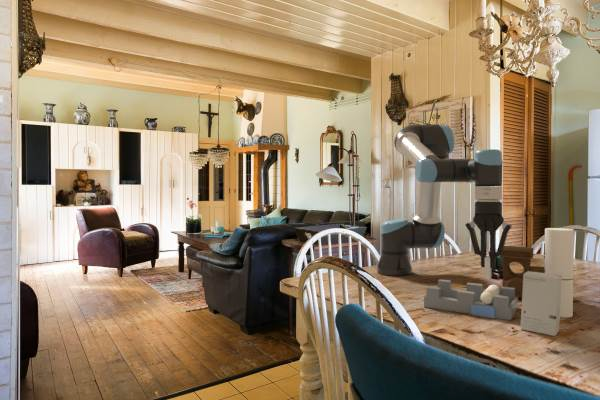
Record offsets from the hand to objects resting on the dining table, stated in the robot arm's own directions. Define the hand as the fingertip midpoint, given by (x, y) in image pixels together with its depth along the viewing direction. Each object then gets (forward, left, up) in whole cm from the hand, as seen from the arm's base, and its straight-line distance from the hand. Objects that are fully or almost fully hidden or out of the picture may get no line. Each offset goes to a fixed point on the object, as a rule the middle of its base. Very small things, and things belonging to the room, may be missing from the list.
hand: (488, 278), depth 127 cm
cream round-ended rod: (0, 0, -6) cm, 6 cm away
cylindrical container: (+18, +7, -10) cm, 22 cm away
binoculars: (-5, +51, -10) cm, 52 cm away
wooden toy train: (+10, +24, -10) cm, 28 cm away
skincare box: (+15, -12, -10) cm, 22 cm away
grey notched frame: (-5, 0, -10) cm, 11 cm away
